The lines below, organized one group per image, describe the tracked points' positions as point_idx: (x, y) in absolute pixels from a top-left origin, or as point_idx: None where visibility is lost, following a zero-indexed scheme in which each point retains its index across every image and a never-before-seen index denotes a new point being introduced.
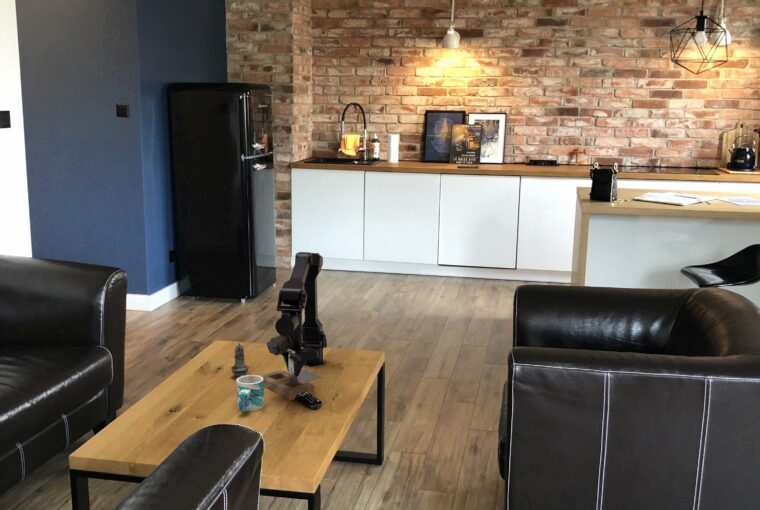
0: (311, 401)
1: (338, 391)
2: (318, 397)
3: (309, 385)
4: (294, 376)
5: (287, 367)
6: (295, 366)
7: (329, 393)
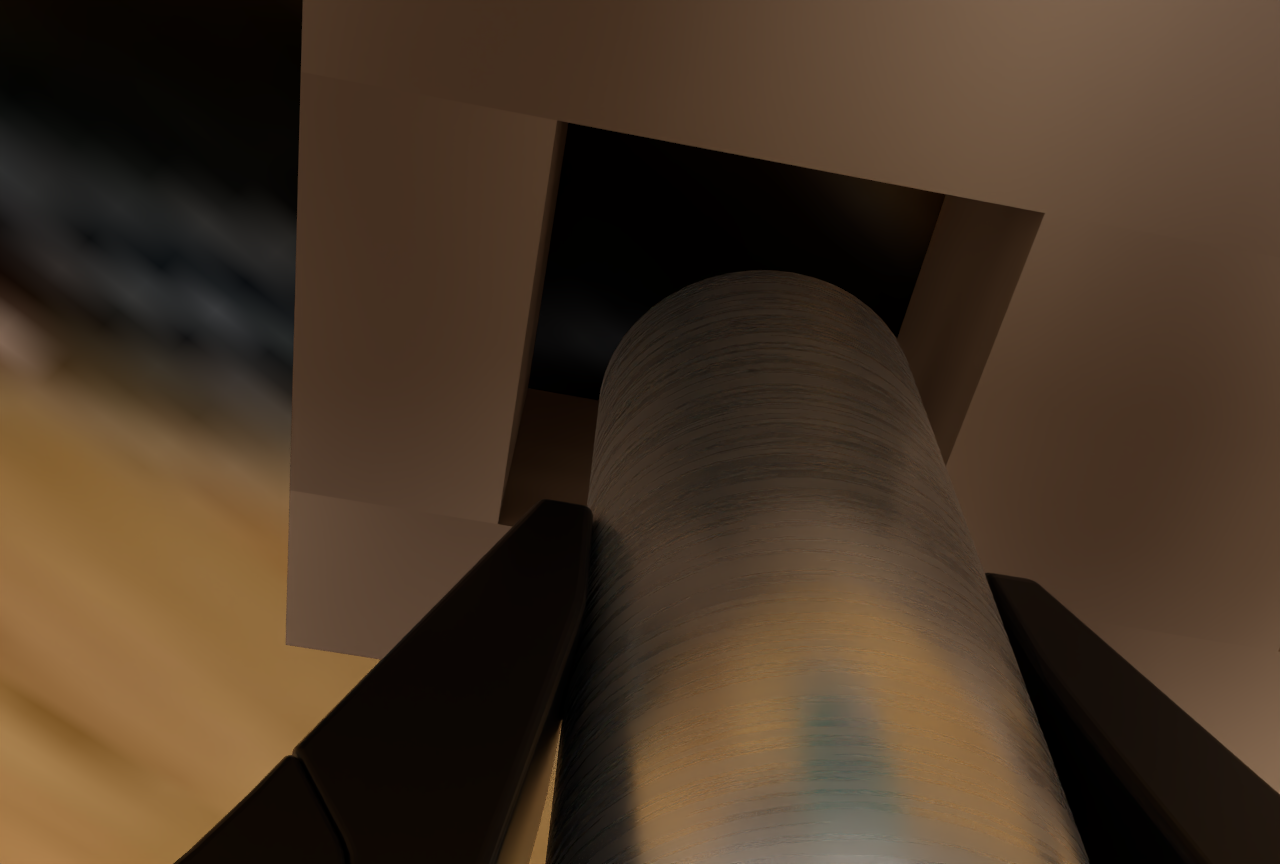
0: (14, 178)
1: (177, 821)
2: (142, 442)
3: (351, 576)
4: (608, 491)
5: (1168, 742)
6: (221, 832)
7: (195, 691)
